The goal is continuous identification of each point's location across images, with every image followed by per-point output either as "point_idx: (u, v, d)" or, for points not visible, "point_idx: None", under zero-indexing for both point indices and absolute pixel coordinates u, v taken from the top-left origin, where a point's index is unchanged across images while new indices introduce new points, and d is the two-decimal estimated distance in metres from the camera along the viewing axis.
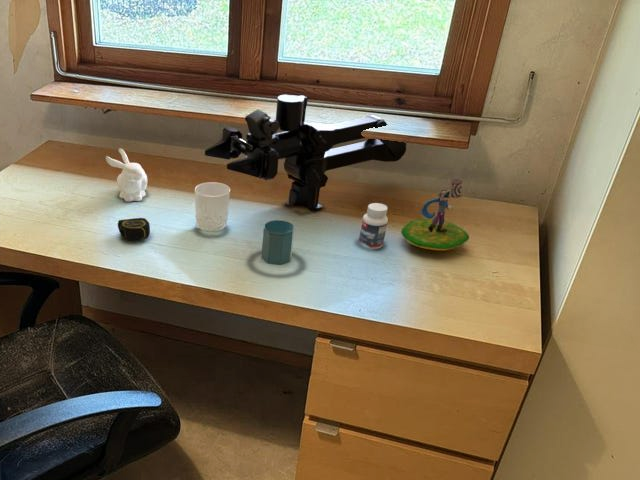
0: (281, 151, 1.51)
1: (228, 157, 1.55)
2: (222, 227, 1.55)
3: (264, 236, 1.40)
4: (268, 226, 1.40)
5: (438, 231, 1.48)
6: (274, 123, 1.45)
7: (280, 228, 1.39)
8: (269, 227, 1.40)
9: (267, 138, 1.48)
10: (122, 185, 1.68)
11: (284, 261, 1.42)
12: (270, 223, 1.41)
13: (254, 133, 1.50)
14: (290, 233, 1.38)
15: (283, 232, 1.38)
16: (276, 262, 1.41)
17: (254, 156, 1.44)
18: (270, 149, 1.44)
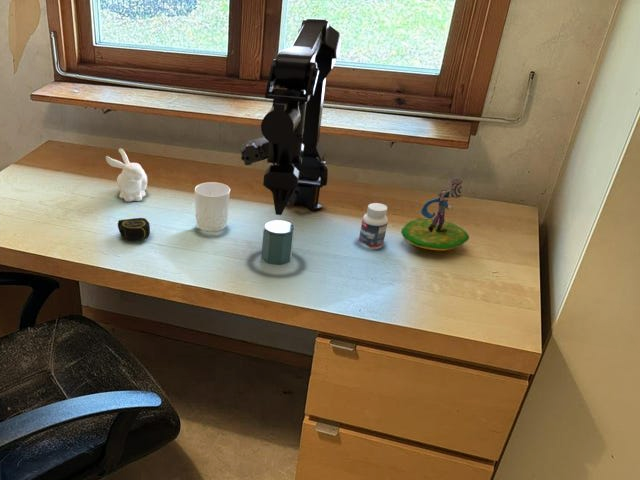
0: None
1: (297, 165, 1.37)
2: (222, 227, 1.55)
3: (264, 236, 1.40)
4: (268, 226, 1.40)
5: (438, 231, 1.48)
6: (246, 152, 1.28)
7: (280, 228, 1.39)
8: (269, 227, 1.40)
9: (266, 153, 1.29)
10: (122, 185, 1.68)
11: (284, 261, 1.42)
12: (270, 223, 1.41)
13: None
14: (290, 233, 1.38)
15: (283, 232, 1.38)
16: (276, 262, 1.41)
17: None
18: None
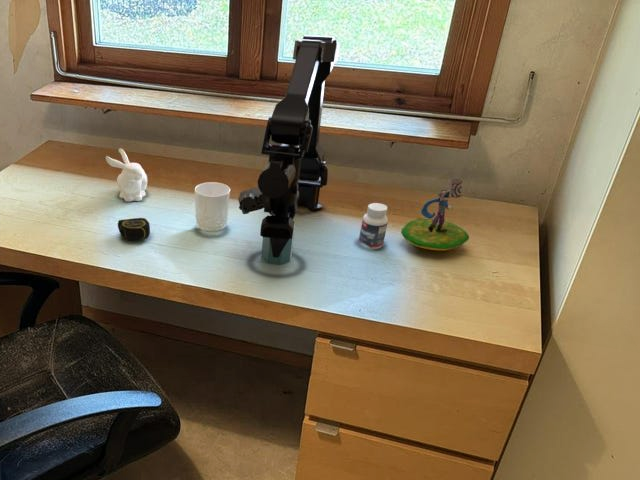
0: None
1: (292, 214, 1.41)
2: (222, 227, 1.55)
3: None
4: None
5: (438, 231, 1.48)
6: (243, 203, 1.34)
7: None
8: None
9: (262, 203, 1.35)
10: (122, 185, 1.68)
11: (284, 261, 1.42)
12: None
13: None
14: None
15: None
16: (276, 262, 1.41)
17: None
18: None
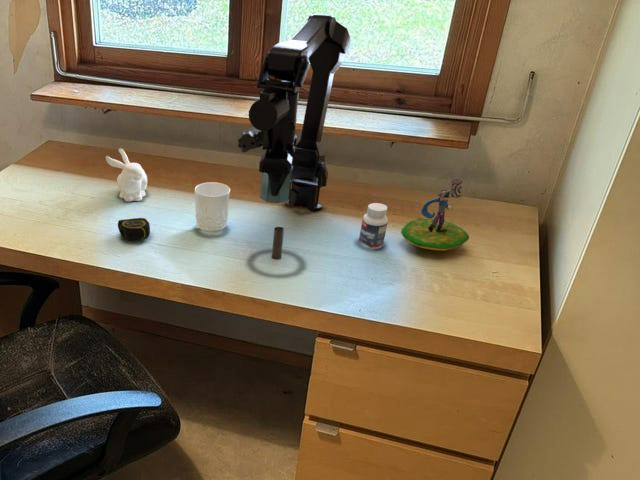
0: (281, 122, 1.34)
1: (291, 154, 1.44)
2: (222, 227, 1.55)
3: (263, 175, 1.43)
4: None
5: (438, 231, 1.48)
6: (242, 140, 1.37)
7: None
8: None
9: (261, 141, 1.38)
10: (122, 185, 1.68)
11: (282, 200, 1.44)
12: None
13: None
14: None
15: None
16: (275, 201, 1.44)
17: None
18: None
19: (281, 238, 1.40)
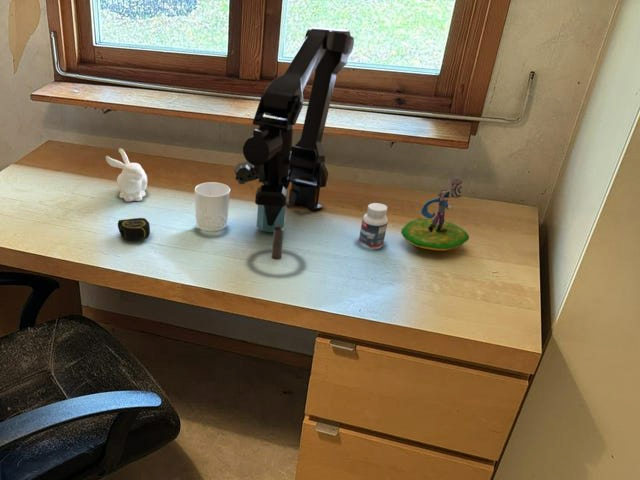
0: (276, 156, 1.41)
1: (286, 185, 1.51)
2: (222, 227, 1.55)
3: (259, 206, 1.50)
4: None
5: (438, 231, 1.48)
6: (239, 173, 1.43)
7: None
8: None
9: (257, 174, 1.44)
10: (122, 185, 1.68)
11: None
12: None
13: None
14: None
15: None
16: (270, 230, 1.51)
17: None
18: None
19: (281, 238, 1.40)
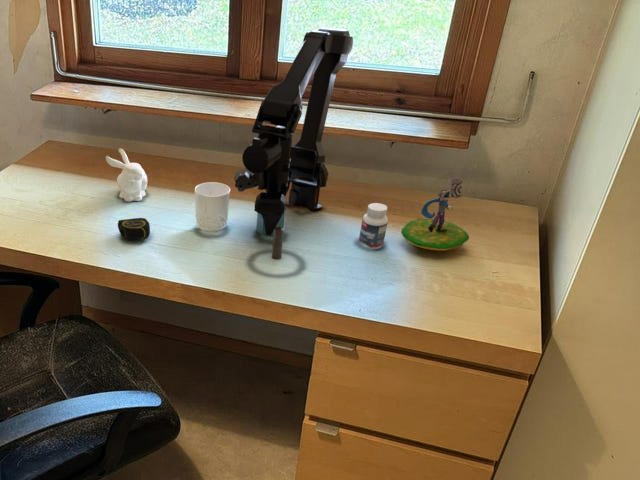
0: (275, 164, 1.42)
1: None
2: (222, 227, 1.55)
3: (258, 216, 1.51)
4: None
5: (438, 231, 1.48)
6: (239, 181, 1.44)
7: None
8: None
9: (257, 181, 1.45)
10: (122, 185, 1.68)
11: None
12: None
13: None
14: None
15: None
16: None
17: None
18: None
19: (281, 238, 1.40)
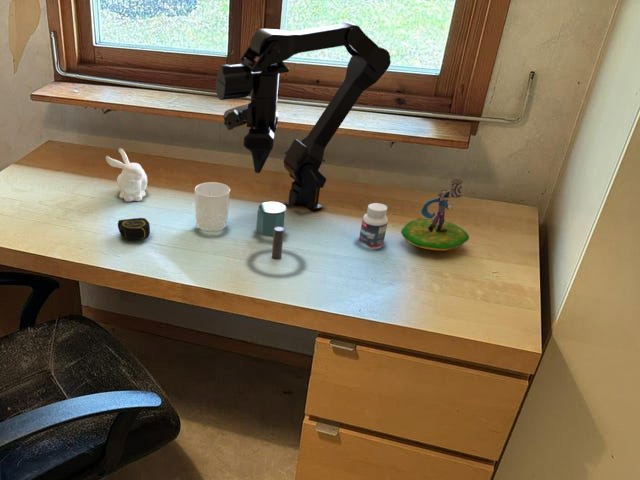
0: (263, 100, 1.46)
1: (273, 129, 1.57)
2: (222, 227, 1.55)
3: (258, 216, 1.51)
4: (262, 207, 1.51)
5: (438, 231, 1.48)
6: (228, 118, 1.48)
7: (273, 209, 1.50)
8: (263, 207, 1.50)
9: (245, 118, 1.49)
10: (122, 185, 1.68)
11: None
12: (264, 204, 1.52)
13: None
14: (282, 213, 1.49)
15: (276, 212, 1.48)
16: None
17: (250, 150, 1.49)
18: None
19: (281, 238, 1.40)
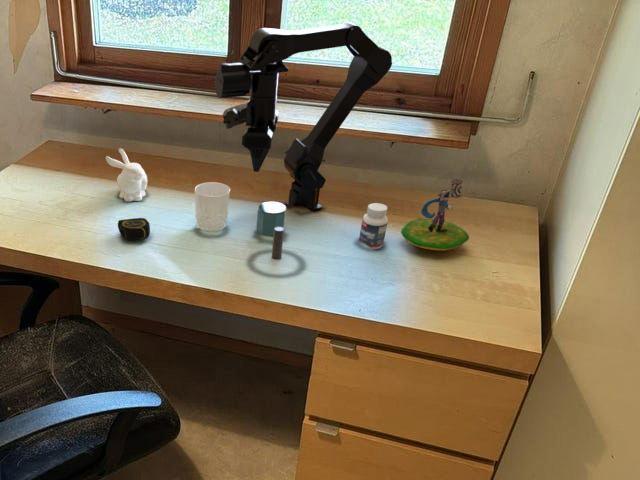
0: (262, 99, 1.46)
1: (273, 129, 1.57)
2: (222, 227, 1.55)
3: (258, 216, 1.51)
4: (262, 207, 1.51)
5: (438, 231, 1.48)
6: (227, 117, 1.49)
7: (273, 209, 1.50)
8: (263, 207, 1.50)
9: (244, 117, 1.49)
10: (122, 185, 1.68)
11: None
12: (264, 204, 1.52)
13: None
14: (282, 213, 1.49)
15: (276, 212, 1.48)
16: None
17: None
18: None
19: (281, 238, 1.40)
